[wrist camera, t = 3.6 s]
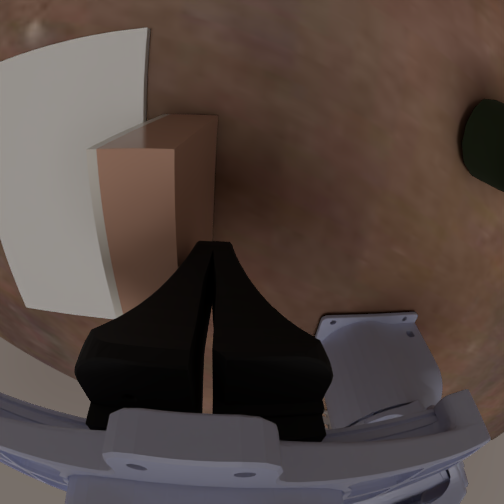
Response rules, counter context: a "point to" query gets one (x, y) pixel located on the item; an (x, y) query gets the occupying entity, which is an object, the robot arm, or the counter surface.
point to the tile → (152, 201)
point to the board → (63, 161)
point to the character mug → (485, 143)
